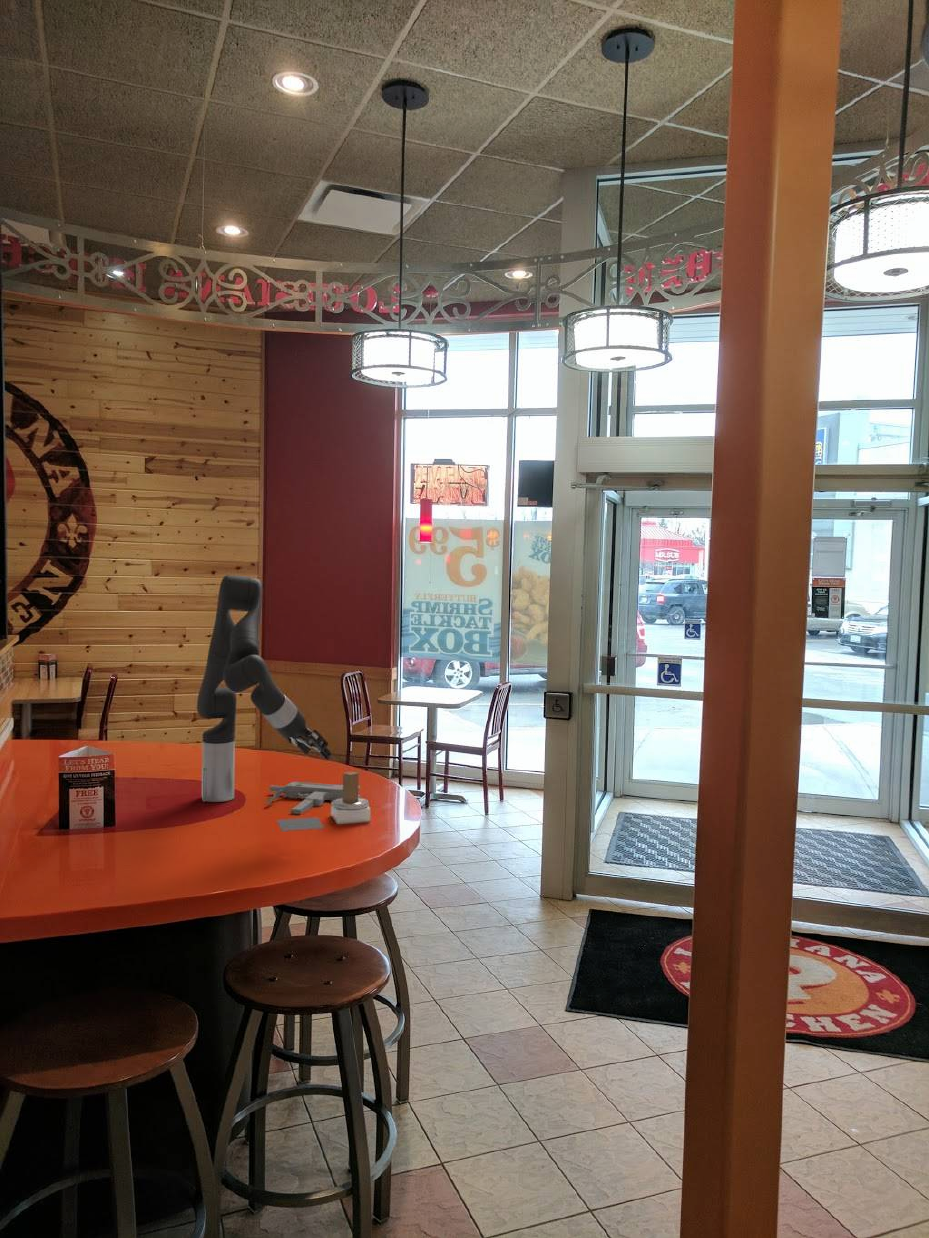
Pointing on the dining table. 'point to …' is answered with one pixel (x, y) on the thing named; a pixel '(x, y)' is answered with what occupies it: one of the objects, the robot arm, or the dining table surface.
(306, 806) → the submachine gun
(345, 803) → the lid
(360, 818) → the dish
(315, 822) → the mat
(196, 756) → the dining table surface
